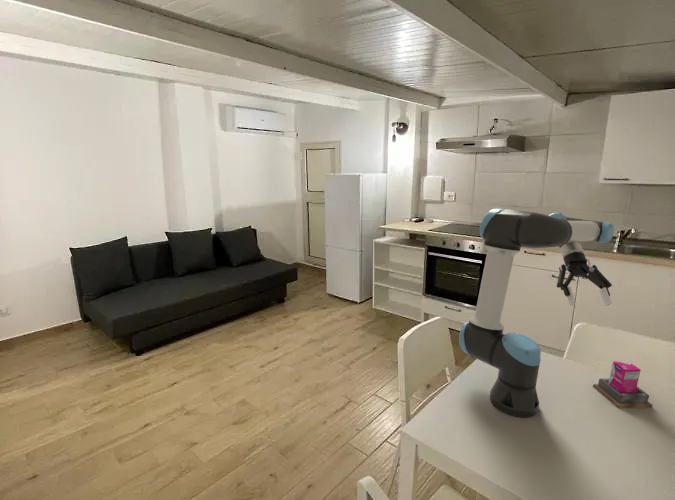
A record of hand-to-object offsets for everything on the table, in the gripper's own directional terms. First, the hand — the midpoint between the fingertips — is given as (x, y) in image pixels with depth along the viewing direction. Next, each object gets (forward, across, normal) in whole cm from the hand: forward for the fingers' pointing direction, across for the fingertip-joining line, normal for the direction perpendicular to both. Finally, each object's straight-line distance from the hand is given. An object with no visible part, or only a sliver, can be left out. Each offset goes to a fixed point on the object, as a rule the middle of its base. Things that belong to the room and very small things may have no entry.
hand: (590, 304), depth 143 cm
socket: (+32, -5, -8) cm, 33 cm away
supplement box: (+31, -4, -7) cm, 32 cm away
